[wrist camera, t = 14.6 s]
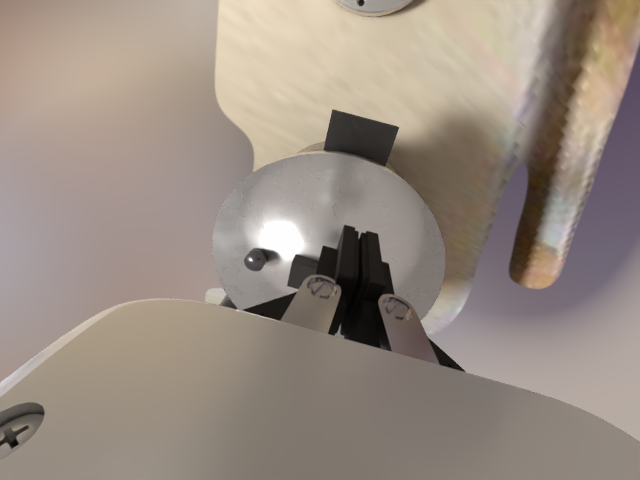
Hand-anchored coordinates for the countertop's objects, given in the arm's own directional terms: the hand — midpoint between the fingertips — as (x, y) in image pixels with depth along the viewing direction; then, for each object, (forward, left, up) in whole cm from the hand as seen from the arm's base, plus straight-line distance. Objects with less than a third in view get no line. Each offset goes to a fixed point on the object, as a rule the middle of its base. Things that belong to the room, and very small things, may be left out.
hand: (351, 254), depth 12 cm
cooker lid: (+6, -1, -8) cm, 10 cm away
